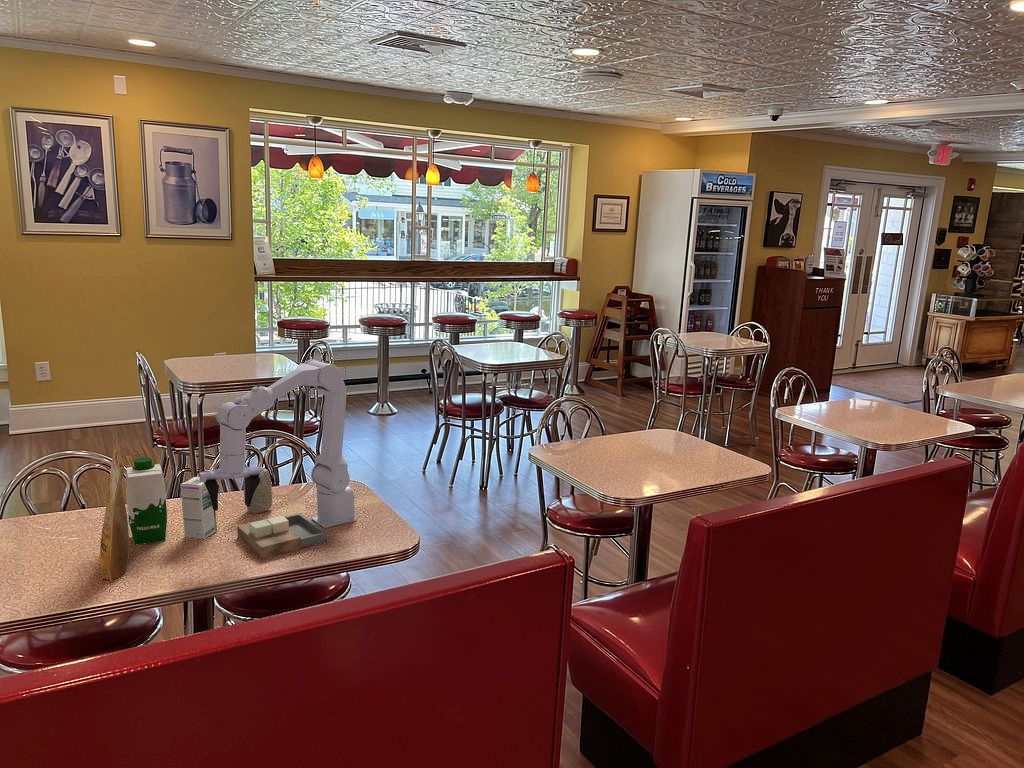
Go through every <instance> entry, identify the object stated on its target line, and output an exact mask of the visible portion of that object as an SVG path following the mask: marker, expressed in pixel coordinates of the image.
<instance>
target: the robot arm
mask: <svg viewBox="0 0 1024 768" xmlns="http://www.w3.org/2000/svg"><path fill="white" fill-rule="evenodd" d="M301 386H307V387H308V386H309V387H315V388H316V389H317V390H318V392H320V393H321V394H322V395H324V404H323V420H322V432H321V433H322V434H321V445H320V447H321V448H320V454H319V455H317V456H316V457H315V460H314V465H313V467H312V468H311V473H310V477H311V480H312V483H314V484H315V488H316V506H317V507H316V508H317V509H316V510H317V512H316V514H317V515H315V516H312V517H311V521H314V523H316V524H318V525H319V526H321V528H322V529H325V528H327V529H328V528H331V527H335V526H338V525H342V524H347V523H350V522H354V521H357V518H356V517H355V516H356V515H355V509H356V508H355V507H356V506H355V494H354V491H353V488H352V487H351V486H349V484H350V474H349V471H348V467H349V466H348V463H347V461H346V460H345V458H344V457H343V448H344V447H343V446H344V445H343V443H344V431H345V419H346V404H347V395H348V394H347V393H348V392H347V387H346V383H345V381H344V371H342V370H341V369H340V368H339V367H338V366H337V365H336V364H333V363H327V362H322V361H319V360H317V359H308V360H306V361H304V363H303V362H302V363H299V364H298V365H297V367H296V368H294V369H293V370H291V371H290V372H289V373H287V374H286V375H284V376H283V377H281V378H280V379H278V380H276V381H275V382H274V383H272V384H271V385H269V386H268V387H265V386H262V385H260V386H257V385H256V386H253V387H252V388H251V390H250V391H249V392H247V393H245V394H244V395H242V396H240V397H239V396H238V397H235V398H234V401H233V402H232V401H228V402H224V403H222V404H221V405H220V406H219V407H218V410H217V412H216V413H215V416H214V417H215V419H216V421H217V423H218V424H219V429H220V430H219V432H220V433H219V468H218V469H213V470H208V471H202V472H201V471H200V472H199V477H200V478H199V480H200V481H201V482H204V484H205V486H206V488H207V490H208V493H209V495H210V498H211V502H212V508H213V510H214V511H215V512H217V511H218V509H219V500H218V497H219V489H220V485H219V484H218V481H221V480H230V479H231V480H232V479H241V478H243V481H244V480H245V498H244V505H245V507H246V508H247V507H249V506H250V504H251V500H252V497H253V494H254V492H255V490H256V488H257V486H258V485H259V483H260V478H259V477H261V476H263V475H264V469H263V467H262V466H246V435H247V433H246V431H247V427H248V426H249V425H250V423H251V421H252V419H254V418H255V417H257V416H259V415H260V414H262V413H264V412H265V411H267V410H269V409H270V408H272V407H273V406H274V404H275V400H276V399H278V398H280V397H283V396H284V395H286V394H288V393H290V392H292V391H294V390H296V389H297V388H299V387H301Z"/></svg>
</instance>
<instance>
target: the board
mask: <svg viewBox="0 0 1024 768" xmlns="http://www.w3.org/2000/svg"><path fill="white" fill-rule="evenodd" d="M274 517H275V516H274ZM274 517H272V518H274ZM267 519H270V518H266V519H264V520H266V521H267ZM261 520H262V519H259V521H261ZM257 521H258V520H256V521H255V522H257ZM249 523H250V522H247V523H244V524H239V525H237V526H236V529H237V538H239V540H241V541H242V543H244V544H245V545H246V546H247V547H248V548H250V550H252V551H253V552H254V553H255V554H256V555H257V556H258V557H259V558H260V559H261V560H263V559H267V558H271V557H275V556H278V555H282V554H286V553H291V552H293V551H297V550H298V551H299V550H301V537H300V536H299V535H297V534H296V533H295V532H293V531H292V530H291V529H290V528H289V530H287V531H283V532H278V533H274V534H273V533H272V534H270V535H266V536H262V537H258V538H255V537H254V536H253V535H252V534H251V533H250V526H249Z"/></svg>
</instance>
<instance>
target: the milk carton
mask: <svg viewBox="0 0 1024 768" xmlns="http://www.w3.org/2000/svg"><path fill="white" fill-rule="evenodd" d="M133 462H134V463H133V464H134V466H130V467H126V472H125V473H126V474H125V481H126V484H125V488H126V489H125V490H126V509H127V519H128V526H129V528H130V533H131V536H132V540H133V543H134V546H137V545H136V544H140V545H145V544H144V543H146V544H152V543H159V542H165V541H166V539H167V538H166V537H167V525H168V511H167V496H166V486H165V485H166V484H165V483H166V481H165V477H164V476H165V475H164V473H163V469H162V466H161V463H156V464H155V463H153V458H151V457H139V458H136V459H134V460H133Z"/></svg>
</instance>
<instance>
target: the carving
mask: <svg viewBox="0 0 1024 768" xmlns="http://www.w3.org/2000/svg"><path fill="white" fill-rule="evenodd" d="M262 468H263V467H262ZM263 469H264V475H263V476H261V477H259V478H260V483H259V485H258V486H257V488H256V490H255V492H254V494H253V497H252V500H251V504H250V506H249V507H247V506H246V509H247V511H248V512H249V513H250V514H260V513H264V512H266V511H268V510H270V509H271V508H272V506H273V503H274V502H273V488H272V480H271V476H270V471H269V469H267V468H263ZM243 499H245V480H244V479H243Z"/></svg>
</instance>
